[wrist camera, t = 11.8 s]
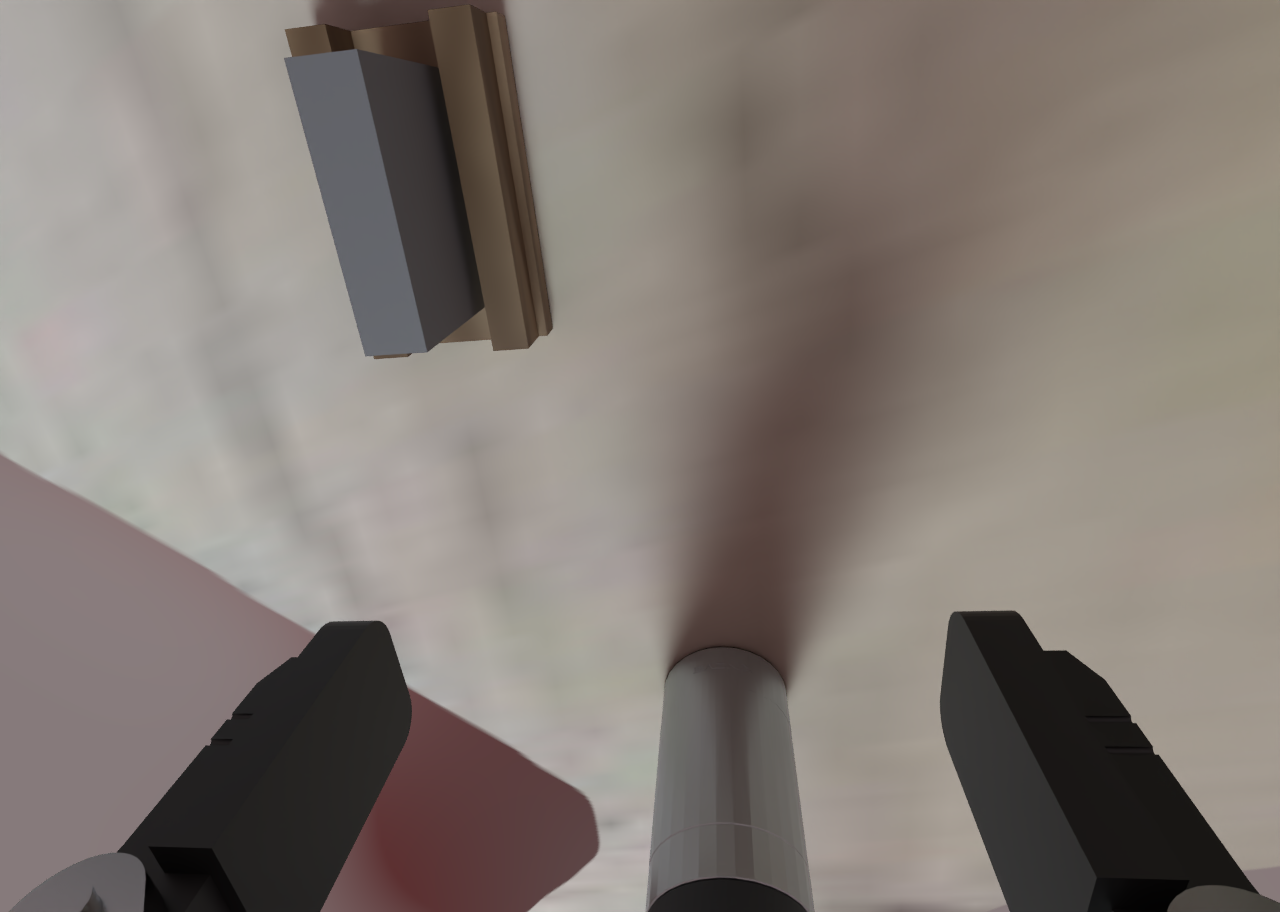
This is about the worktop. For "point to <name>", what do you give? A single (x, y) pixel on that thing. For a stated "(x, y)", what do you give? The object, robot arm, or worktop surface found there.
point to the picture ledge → (473, 157)
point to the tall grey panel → (390, 195)
